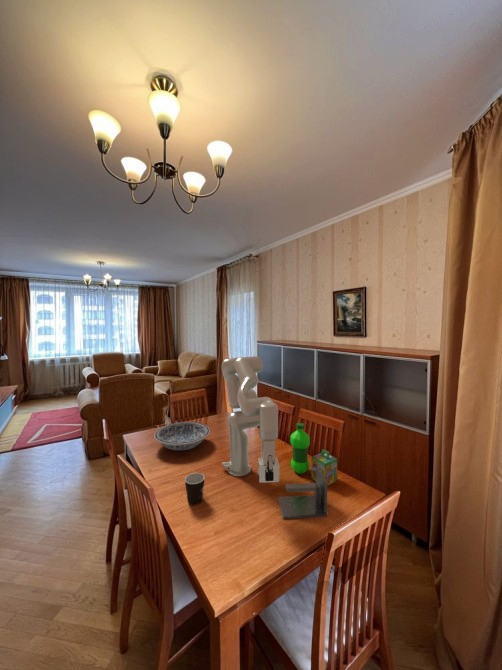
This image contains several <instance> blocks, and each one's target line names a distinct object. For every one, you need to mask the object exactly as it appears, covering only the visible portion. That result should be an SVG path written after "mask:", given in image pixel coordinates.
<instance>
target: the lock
mask: <svg viewBox="0 0 502 670" xmlns="http://www.w3.org/2000/svg"><path fill="white" fill-rule="evenodd" d="M257 460H258V461H257V467H258V469H257V475H258V482H259V483H260V484H261V483H263V484H264V483H280V463H279V459H278V456H275V464H274V465H273V471H274V480H273V481H266V480H265V471H266V465H263V463H262V458H261V456H260V457H258V458H257ZM267 463H269V462H267ZM268 467H269V465H268Z"/></svg>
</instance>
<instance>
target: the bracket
mask: <svg viewBox="0 0 502 670" xmlns="http://www.w3.org/2000/svg"><path fill="white" fill-rule="evenodd" d="M285 490H286V493H294V492H295V493H296V492H297V493H299V492H301V493H302V492H313V495H296V496H295V495H294V496H278V498H277V500H278V503H279V507H280V513H281V516H282V519H283V520H286V519H287V520H288V519H307V518H309V519H310V518H326V517H328V486H327V481H326V480H325V478H324V476H323V474H322V473H321V471H320V469H319V467H316V481H315V482H302V483H300V482H299V483H285Z"/></svg>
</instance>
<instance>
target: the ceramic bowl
mask: <svg viewBox="0 0 502 670" xmlns="http://www.w3.org/2000/svg"><path fill="white" fill-rule="evenodd" d="M210 431H211V430H210V428H209V426H207V425H206V424H204V423H201V422H197V421H179V422H174V423H173V422H172V423H169V424H166V425H163V426H162V427H159V428H158V429H157V430H156V431H155V432H154V434H153V436H154V440H156V441H157V442H159V443H160V444H161V445H162V446H163V447H164V448H166V449H168V450H171V451H179V452H181V451H182V452H183V451H188V450H191V449H194V448H196V447H197V446H199V445H200V444H201V443H202V442H203V441H204V440H205V439H206V438H207V437H208V436H209V434H210Z"/></svg>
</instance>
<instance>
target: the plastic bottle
mask: <svg viewBox="0 0 502 670" xmlns="http://www.w3.org/2000/svg"><path fill="white" fill-rule="evenodd" d="M295 429H296V430H295V431H294V432H292V433H291V434H290V440H289V442H290V445H291V446H292V458H291V461H290V467H291V469H292V470H293V471H295V473H296V474H298V475H299V474H300V475H301V474H305V473H306V472H307V471H308V470H309V469H310V461H309V459H308V447H310V443H311V442H310V440H311V438H310V436H309V434H308V433H306V431H304V429H305V423H302V422H297V423H295Z"/></svg>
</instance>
